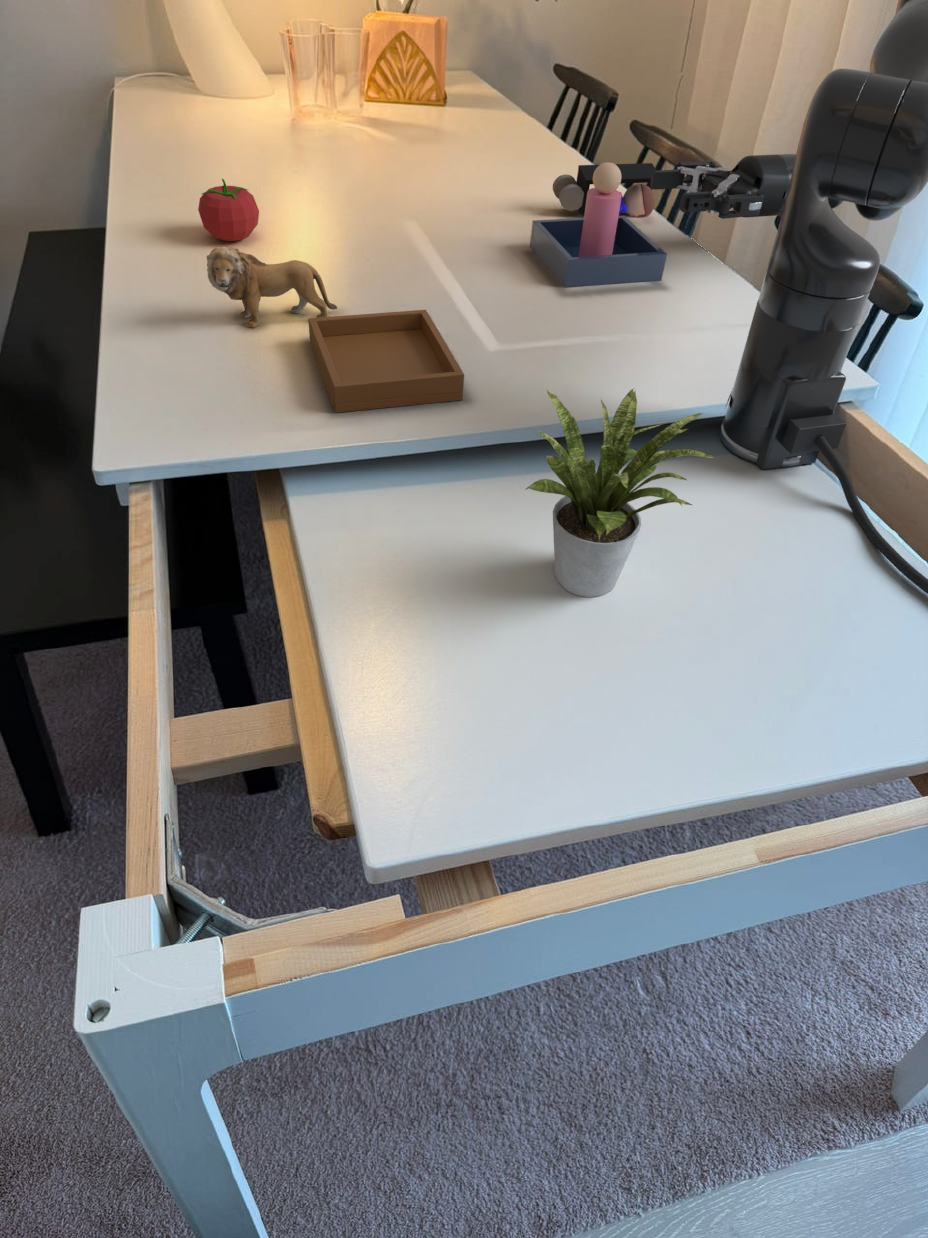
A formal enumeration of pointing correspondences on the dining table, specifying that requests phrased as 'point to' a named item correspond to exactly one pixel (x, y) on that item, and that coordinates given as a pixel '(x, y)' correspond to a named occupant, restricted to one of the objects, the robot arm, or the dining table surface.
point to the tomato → (228, 212)
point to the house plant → (603, 496)
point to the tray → (384, 360)
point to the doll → (601, 212)
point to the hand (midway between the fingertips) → (666, 191)
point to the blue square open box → (627, 263)
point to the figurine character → (634, 200)
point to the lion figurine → (263, 281)
